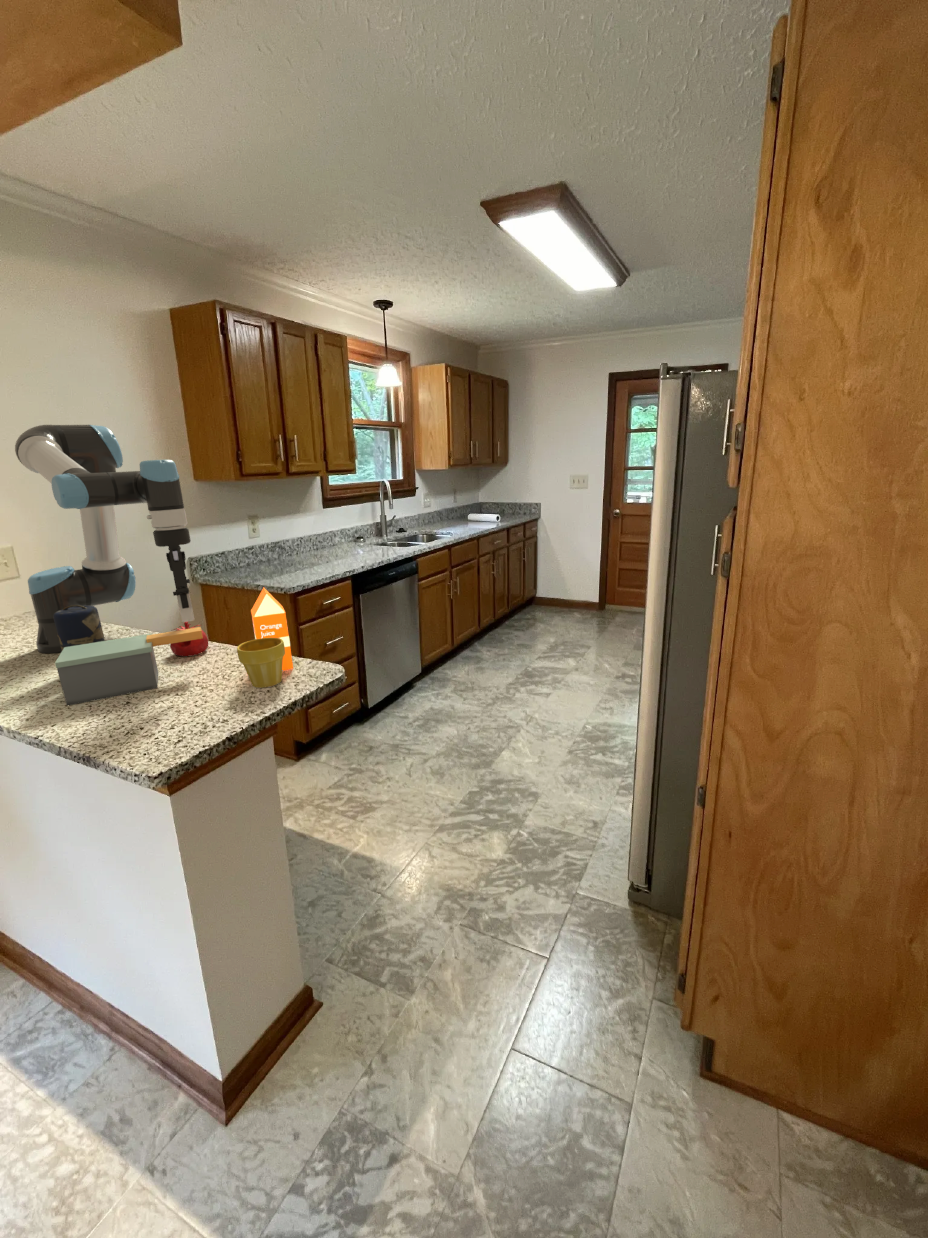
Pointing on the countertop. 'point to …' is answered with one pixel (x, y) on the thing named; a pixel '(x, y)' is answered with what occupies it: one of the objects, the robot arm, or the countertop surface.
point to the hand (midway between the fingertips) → (187, 615)
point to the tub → (108, 678)
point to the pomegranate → (190, 644)
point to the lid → (123, 647)
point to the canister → (78, 625)
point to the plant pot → (263, 660)
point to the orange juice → (271, 623)
